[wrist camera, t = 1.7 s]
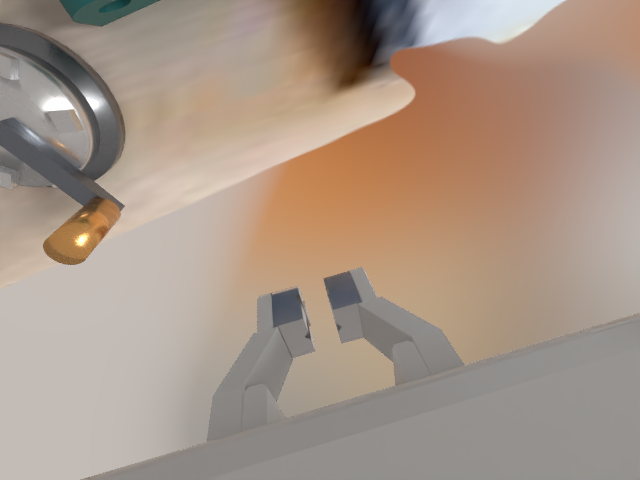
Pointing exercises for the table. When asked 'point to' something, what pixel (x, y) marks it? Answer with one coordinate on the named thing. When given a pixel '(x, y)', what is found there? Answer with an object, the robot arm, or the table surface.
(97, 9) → the bracket
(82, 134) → the lugged valve handwheel
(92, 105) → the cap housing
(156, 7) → the table surface
